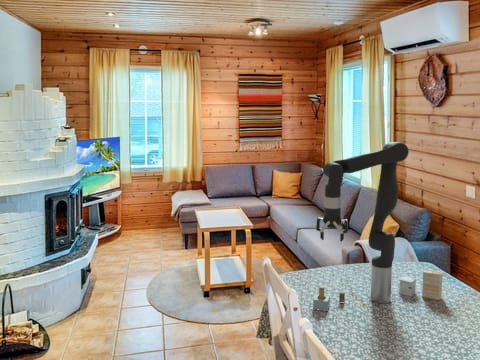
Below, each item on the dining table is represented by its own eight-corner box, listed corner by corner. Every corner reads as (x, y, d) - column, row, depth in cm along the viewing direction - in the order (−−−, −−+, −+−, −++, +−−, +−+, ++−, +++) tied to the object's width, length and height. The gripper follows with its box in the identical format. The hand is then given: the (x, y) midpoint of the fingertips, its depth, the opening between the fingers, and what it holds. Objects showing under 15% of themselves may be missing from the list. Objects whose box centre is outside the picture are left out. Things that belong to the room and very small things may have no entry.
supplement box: (441, 297, 214) (443, 271, 212) (440, 301, 210) (441, 274, 208) (423, 294, 218) (424, 268, 216) (421, 297, 214) (422, 271, 212)
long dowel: (319, 306, 206) (319, 286, 204) (324, 307, 205) (324, 286, 203) (318, 308, 204) (318, 288, 202) (323, 309, 203) (323, 288, 201)
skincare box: (398, 293, 219) (399, 279, 218) (403, 289, 224) (403, 275, 222) (411, 296, 215) (411, 282, 214) (415, 292, 220) (416, 278, 219)
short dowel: (339, 301, 211) (339, 292, 211) (344, 301, 211) (344, 292, 210) (338, 303, 209) (339, 294, 208) (344, 303, 208) (344, 294, 208)
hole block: (315, 304, 208) (315, 293, 208) (329, 306, 206) (329, 295, 205) (313, 309, 202) (313, 299, 202) (327, 311, 200) (327, 301, 199)
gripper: (349, 205, 205) (348, 239, 207) (318, 203, 209) (318, 236, 212) (347, 208, 198) (346, 244, 200) (315, 206, 202) (315, 241, 205)
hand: (331, 240), depth 206 cm, fingers open, 8 cm apart
